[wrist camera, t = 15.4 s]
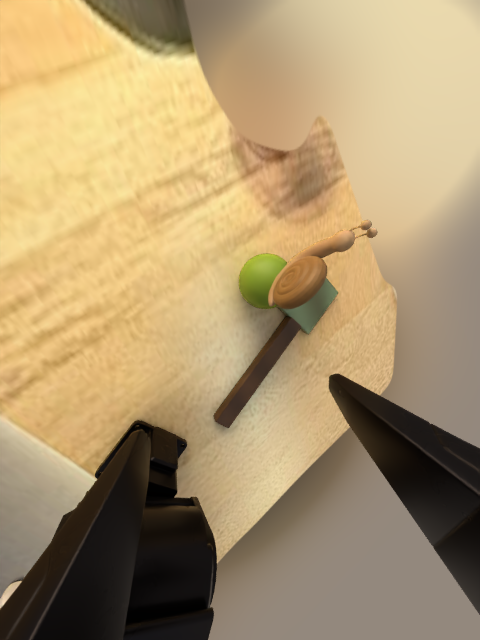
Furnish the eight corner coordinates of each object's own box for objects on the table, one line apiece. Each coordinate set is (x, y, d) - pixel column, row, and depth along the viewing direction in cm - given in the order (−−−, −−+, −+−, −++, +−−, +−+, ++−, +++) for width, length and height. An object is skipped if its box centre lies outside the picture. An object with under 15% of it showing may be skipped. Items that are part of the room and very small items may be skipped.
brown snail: (287, 270, 23) (398, 254, 12) (259, 315, 23) (346, 341, 12) (253, 240, 21) (349, 186, 10) (222, 288, 21) (284, 290, 9)
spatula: (237, 428, 24) (240, 434, 23) (199, 408, 22) (201, 414, 21) (334, 292, 26) (341, 292, 25) (308, 261, 24) (315, 260, 23)
